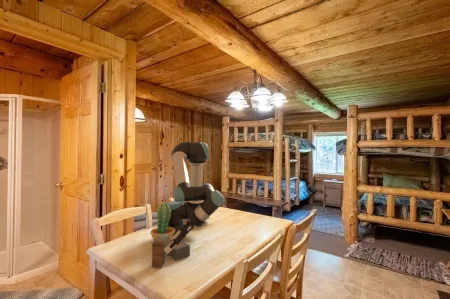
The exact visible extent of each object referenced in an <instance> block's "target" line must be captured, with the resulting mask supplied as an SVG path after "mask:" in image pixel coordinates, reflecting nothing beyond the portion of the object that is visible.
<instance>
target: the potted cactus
mask: <svg viewBox="0 0 450 299" xmlns="http://www.w3.org/2000/svg"><path fill="white" fill-rule="evenodd" d="M170 217H171V208H170V207H169V205H168V202H161V203H160V204H159V205H158V207H157V208H156V218H157V227H155V228H151V230H150V231H149V234H150V235H151V238H152V239H153V242H154V241H155V240H157V236H158V235H161V234H164V233H165V234H167V235H170V241H172V240H171V238H172V237H173V234H174V233H175V229H174V228H172V227H168V222H169V219H170Z"/></svg>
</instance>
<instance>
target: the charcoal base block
mask: <svg viewBox="0 0 450 299" xmlns="http://www.w3.org/2000/svg"><path fill="white" fill-rule="evenodd" d="M168 245H169V244H168ZM168 245H167V246H168ZM166 255H167V256H168V257H169V256H170V257H169V258H171V259H172V258H173V259H172V260H174V261H175V262H176V261H179V260H182V259H184V258H187V257H191V256H190V255H191V245H190V244H189V243H186V242H185V241H183V240H182V241H181V242H180V243H179V244H178V245H176V246H175V247H174V248H173V249H172V250H171V251H170V252H169V253H168V254H166Z"/></svg>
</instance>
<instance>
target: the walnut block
mask: <svg viewBox="0 0 450 299" xmlns="http://www.w3.org/2000/svg"><path fill="white" fill-rule="evenodd" d="M151 244H152V245H151V250H152V251H151V268H152V269H162V268H163V267H164V265H165V264H164V263H166V260H165V259H166V257H165V256H166V255H165V251H164V249H165V240H155V241H154V240H153V242H152V243H151Z"/></svg>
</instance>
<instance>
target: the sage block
mask: <svg viewBox="0 0 450 299" xmlns="http://www.w3.org/2000/svg"><path fill="white" fill-rule="evenodd" d="M157 240H165V248H166V247H167V245H168V244H170V243H171V240H170V235H167V234H165V233H164V234H161V235H158V236H157ZM165 254H166V255H167V253H166V252H165Z"/></svg>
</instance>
